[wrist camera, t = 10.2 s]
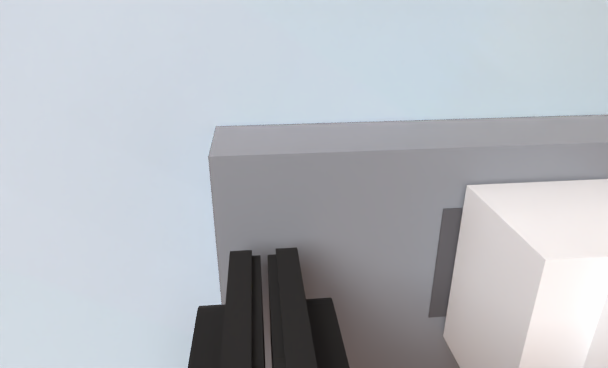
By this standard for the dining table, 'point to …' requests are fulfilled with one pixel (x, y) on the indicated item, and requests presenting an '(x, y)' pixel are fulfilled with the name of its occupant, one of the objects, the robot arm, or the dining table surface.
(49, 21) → the dining table surface
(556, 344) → the ridged white block
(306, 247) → the switch panel
